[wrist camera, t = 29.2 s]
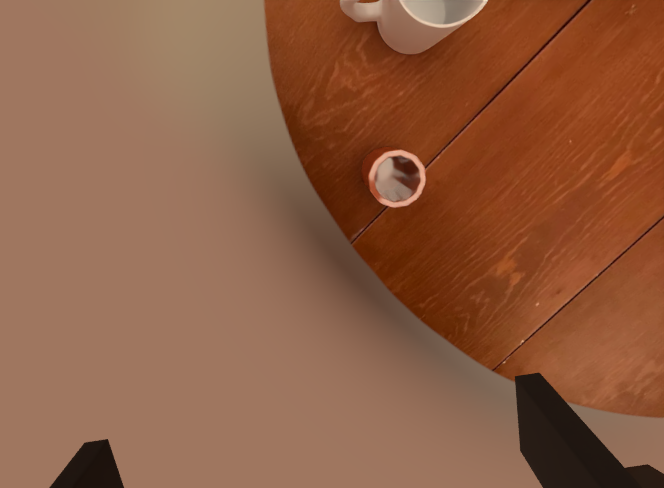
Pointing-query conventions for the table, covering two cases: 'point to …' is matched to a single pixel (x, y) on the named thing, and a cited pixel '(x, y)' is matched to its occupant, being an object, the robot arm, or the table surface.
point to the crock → (393, 176)
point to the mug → (413, 20)
